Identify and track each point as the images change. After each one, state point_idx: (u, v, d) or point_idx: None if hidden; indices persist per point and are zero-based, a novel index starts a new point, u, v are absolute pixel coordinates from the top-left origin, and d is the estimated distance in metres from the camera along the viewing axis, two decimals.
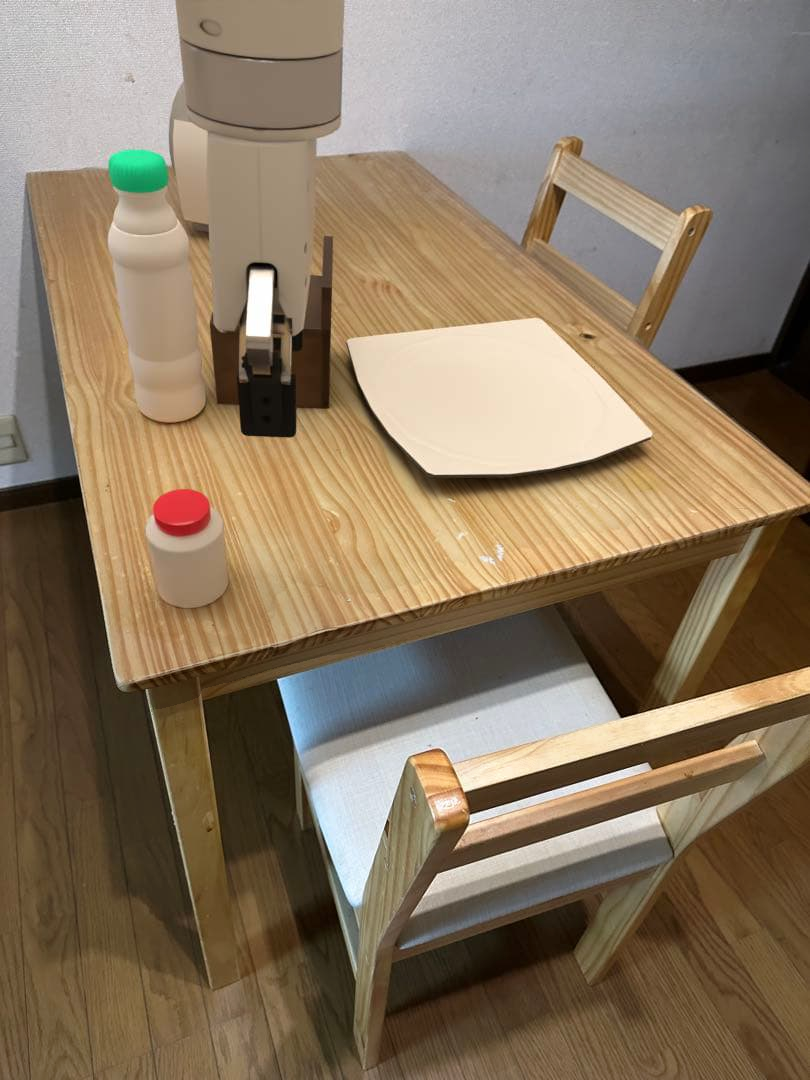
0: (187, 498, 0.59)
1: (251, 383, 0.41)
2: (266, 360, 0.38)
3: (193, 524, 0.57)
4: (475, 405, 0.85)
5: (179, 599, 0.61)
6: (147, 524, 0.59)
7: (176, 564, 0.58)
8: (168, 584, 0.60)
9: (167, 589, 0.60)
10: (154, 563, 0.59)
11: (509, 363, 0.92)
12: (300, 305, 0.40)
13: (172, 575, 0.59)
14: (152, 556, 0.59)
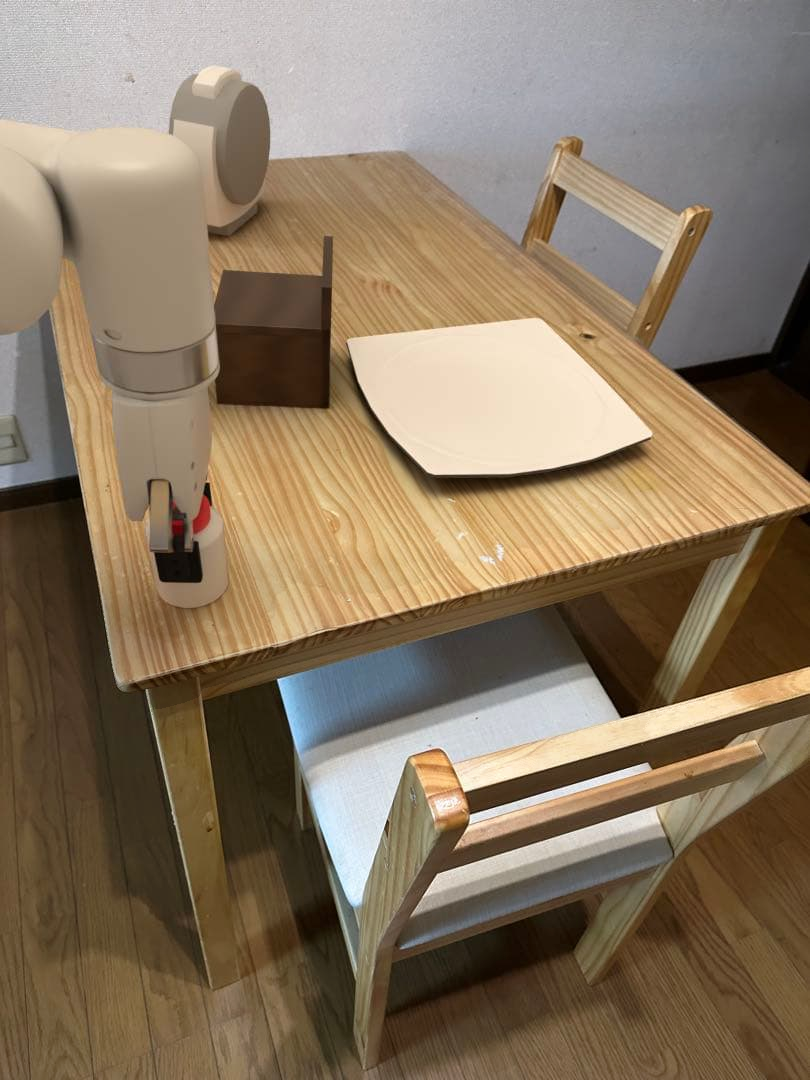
0: None
1: None
2: None
3: (193, 524, 0.57)
4: (475, 405, 0.85)
5: (179, 599, 0.61)
6: (147, 524, 0.59)
7: None
8: (168, 584, 0.60)
9: (167, 589, 0.60)
10: (154, 563, 0.59)
11: (509, 363, 0.92)
12: (191, 504, 0.52)
13: None
14: (152, 556, 0.59)
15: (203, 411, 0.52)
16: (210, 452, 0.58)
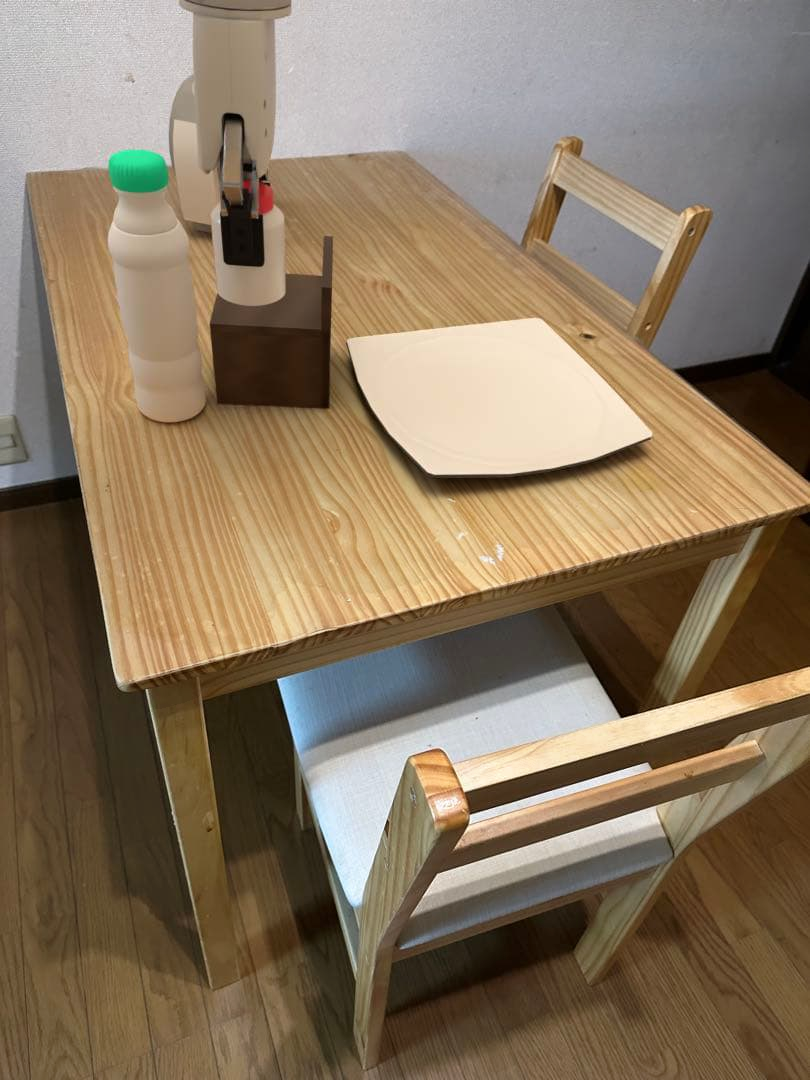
0: None
1: (230, 217, 0.58)
2: (238, 197, 0.54)
3: None
4: (475, 405, 0.85)
5: (240, 294, 0.63)
6: (213, 211, 0.61)
7: None
8: (230, 275, 0.63)
9: (229, 282, 0.63)
10: (218, 251, 0.62)
11: (509, 363, 0.92)
12: (261, 150, 0.54)
13: None
14: (217, 242, 0.61)
15: (274, 62, 0.54)
16: (273, 140, 0.61)
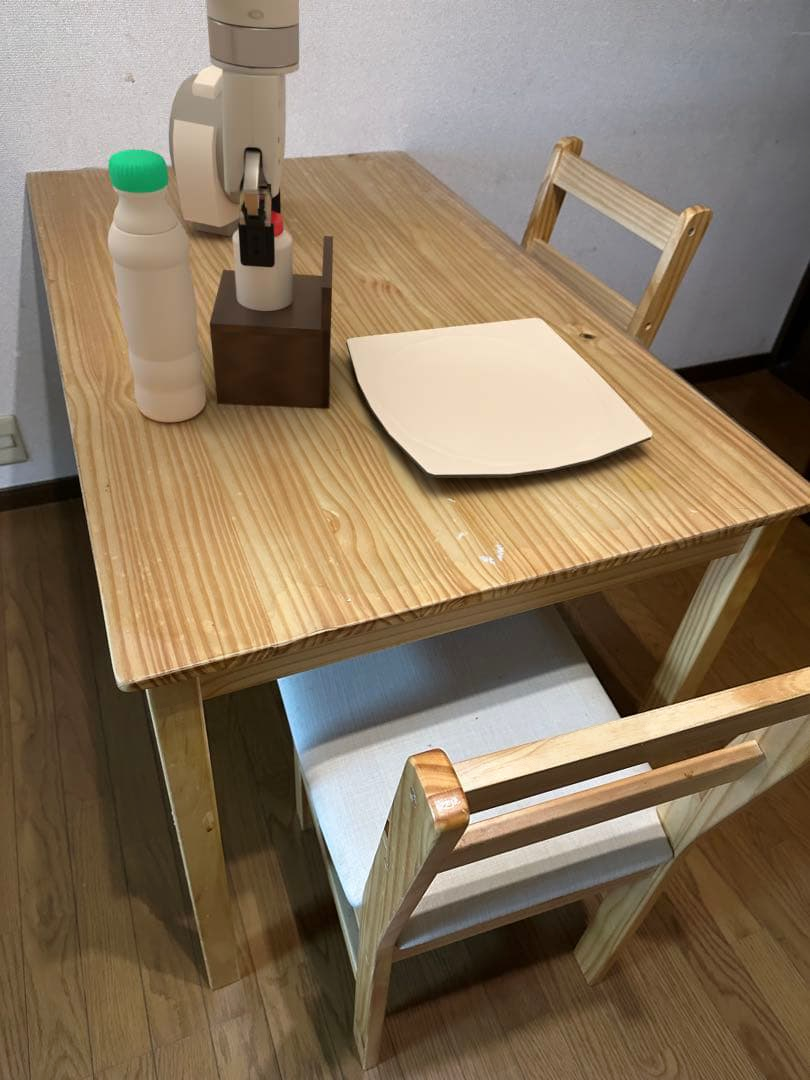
0: None
1: (246, 225, 0.69)
2: (255, 204, 0.66)
3: None
4: (475, 405, 0.85)
5: (257, 301, 0.78)
6: (234, 234, 0.75)
7: None
8: (249, 286, 0.77)
9: (248, 292, 0.77)
10: (239, 267, 0.76)
11: (509, 363, 0.92)
12: (275, 176, 0.68)
13: (253, 275, 0.76)
14: (238, 260, 0.76)
15: (285, 105, 0.68)
16: None
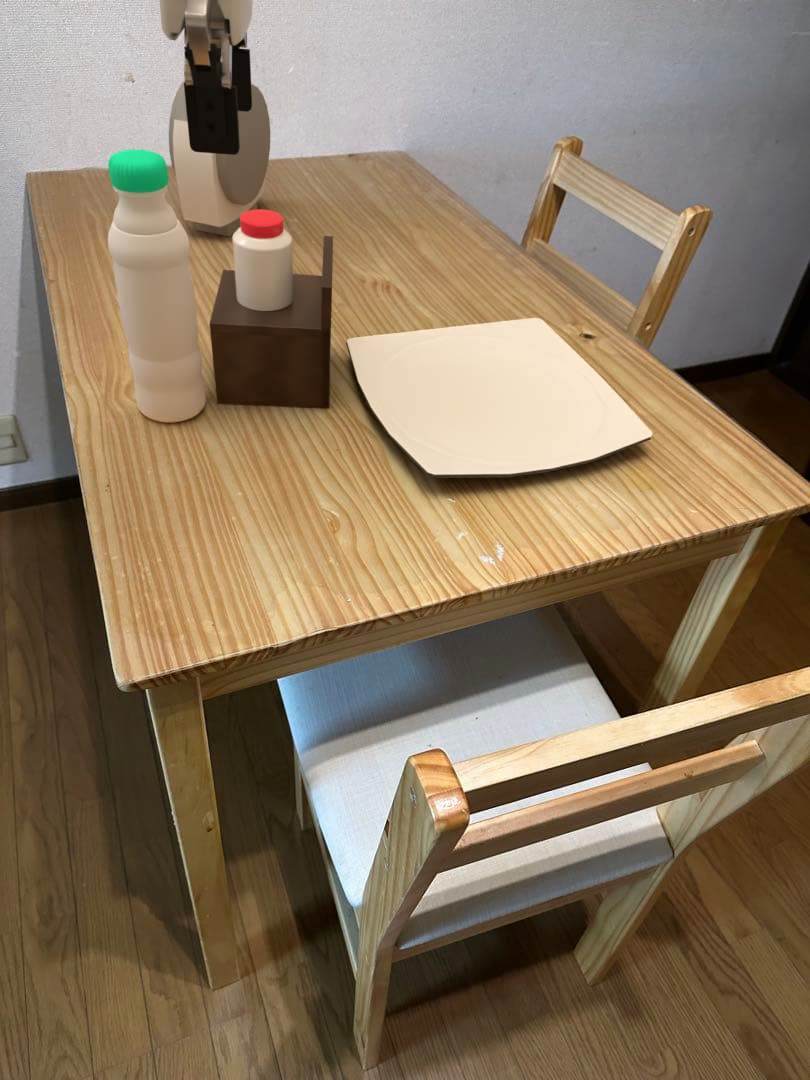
0: (265, 213, 0.75)
1: (195, 85, 0.47)
2: (204, 42, 0.44)
3: (271, 227, 0.74)
4: (475, 405, 0.85)
5: (257, 301, 0.78)
6: (234, 234, 0.75)
7: (257, 263, 0.75)
8: (249, 286, 0.77)
9: (248, 292, 0.77)
10: (239, 267, 0.76)
11: (509, 363, 0.92)
12: (236, 6, 0.46)
13: (253, 275, 0.76)
14: (238, 260, 0.76)
15: None
16: (251, 13, 0.52)
